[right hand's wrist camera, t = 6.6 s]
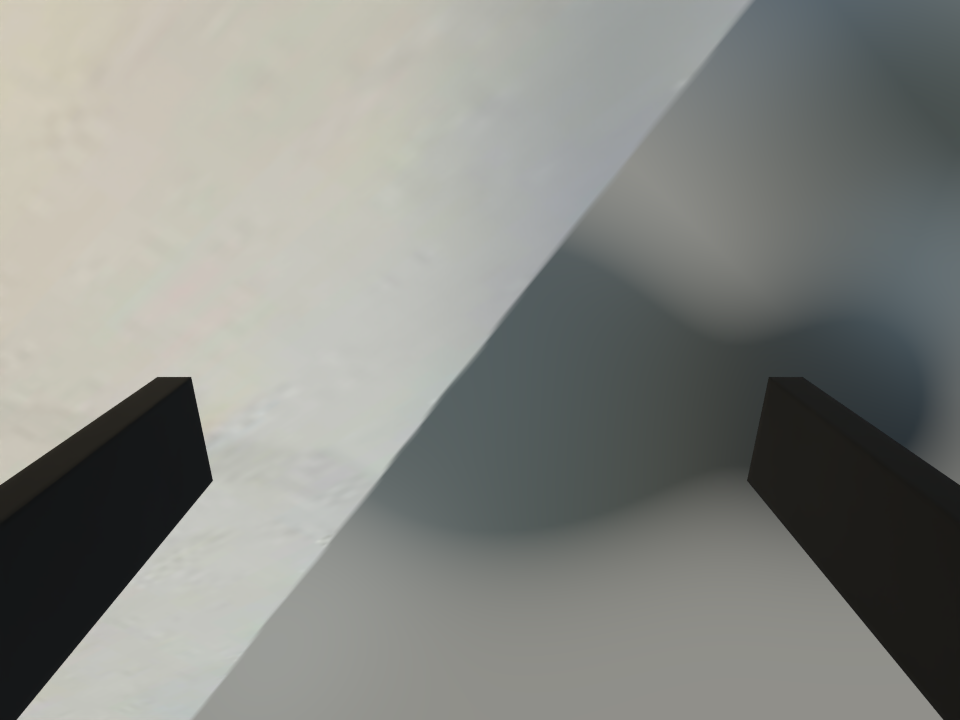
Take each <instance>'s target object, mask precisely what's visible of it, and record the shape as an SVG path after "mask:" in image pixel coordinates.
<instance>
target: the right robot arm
mask: <svg viewBox="0 0 960 720" xmlns="http://www.w3.org/2000/svg"><path fill="white" fill-rule="evenodd" d="M212 481H213V479H212V475H211V470H210V465H209V460H208V455H207V451H206V446H205V441H204V436H203V432H202V427H201V422H200V417H199V412H198V408H197V403H196V398H195V393H194V389H193V384H192V379H191V377H157V378H155V379H154V380H153V381H151V382H150V383H148V384H147V385H145V386H144V387H142V388H141V389H139V390H138V391H137V392H135V393H134V394H132V395H131V396H129V397H128V398H126V399H125V400H123V401H122V402H121V403H119V404H118V405H116V406H115V407H113V408H112V409H110V410H109V411H107V412H106V413H105V414H103V415H102V416H100V417H99V418H97V419H96V420H94V421H93V422H91V423H90V424H89V425H87V426H86V427H84V428H83V429H81V430H80V431H78V432H77V433H75V434H74V435H73V436H71V437H70V438H68V439H67V440H65V441H64V442H62V443H61V444H59V445H58V446H57V447H55V448H54V449H52V450H51V451H49V452H48V453H46V454H45V455H43V456H42V457H41V458H39V459H38V460H36V461H35V462H33V463H32V464H30V465H29V466H27V467H26V468H25V469H23V470H22V471H20V472H19V473H17V474H16V475H14V476H13V477H11V478H10V479H9V480H7V481H6V482H4V483H3V484H1V485H0V720H17V719H18V717H19V716H20V715H21V714H22V712H23V711H24V710H25V709H26V708H27V706H28V705H29V704H30V703H31V701H32V700H33V699H34V698H35V697H36V695H37V694H38V693H39V692H40V691H41V689H42V688H43V687H44V686H45V684H46V683H47V682H48V681H49V680H50V678H51V677H52V676H53V675H54V673H55V672H56V671H57V670H58V669H59V667H60V666H61V665H62V664H63V663H64V661H65V660H66V659H67V658H68V656H69V655H70V654H71V653H72V652H73V650H74V649H75V648H76V647H77V645H78V644H79V643H80V642H81V641H82V639H83V638H84V637H85V636H86V635H87V633H88V632H89V631H90V630H91V628H92V627H93V626H94V625H95V624H96V622H97V621H98V620H99V619H100V617H101V616H102V615H103V614H104V613H105V611H106V610H107V609H108V608H109V606H110V605H111V604H112V603H113V602H114V600H115V599H116V598H117V597H118V596H119V594H120V593H121V592H122V591H123V589H124V588H125V587H126V586H127V585H128V583H129V582H130V581H131V580H132V578H133V577H134V576H135V575H136V574H137V572H138V571H139V570H140V569H141V568H142V566H143V565H144V564H145V563H146V561H147V560H148V559H149V558H150V557H151V555H152V554H153V553H154V552H155V550H156V549H157V548H158V547H159V546H160V544H161V543H162V542H163V541H164V540H165V538H166V537H167V536H168V535H169V533H170V532H171V531H172V530H173V529H174V527H175V526H176V525H177V524H178V522H179V521H180V520H181V519H182V518H183V516H184V515H185V514H186V513H187V511H188V510H189V509H190V508H191V507H192V505H193V504H194V503H195V502H196V501H197V499H198V498H199V497H200V496H201V494H202V493H203V492H204V491H205V490H206V488H207V487H208V486H209V485H210V483H211V482H212ZM747 481H748V482H749V483H750V485H751V486H752V487H753V488H754V489H755V491H756V492H757V493H758V494H759V496H760V497H761V498H762V499H763V501H764V502H765V503H766V504H767V505H768V507H769V508H770V509H771V510H772V511H773V513H774V514H775V515H776V516H777V518H778V519H779V520H780V521H781V522H782V524H783V525H784V526H785V527H786V528H787V530H788V531H789V532H790V533H791V535H792V536H793V537H794V538H795V540H796V541H797V542H798V543H799V544H800V546H801V547H802V548H803V549H804V550H805V552H806V553H807V554H808V555H809V557H810V558H811V559H812V560H813V561H814V563H815V564H816V565H817V566H818V568H819V569H820V570H821V571H822V572H823V574H824V575H825V576H826V577H827V578H828V580H829V581H830V582H831V583H832V585H833V586H834V587H835V588H836V589H837V591H838V592H839V593H840V594H841V595H842V597H843V598H844V599H845V600H846V602H847V603H848V604H849V605H850V606H851V608H852V609H853V610H854V611H855V613H856V614H857V615H858V616H859V617H860V619H861V620H862V621H863V622H864V624H865V625H866V626H867V627H868V628H869V630H870V631H871V632H872V633H873V634H874V636H875V637H876V638H877V639H878V641H879V642H880V643H881V644H882V645H883V647H884V648H885V649H886V650H887V652H888V653H889V654H890V655H891V656H892V658H893V659H894V660H895V661H896V663H897V664H898V665H899V666H900V667H901V669H902V670H903V671H904V672H905V673H906V675H907V676H908V677H909V678H910V680H911V681H912V682H913V683H914V684H915V686H916V687H917V688H918V689H919V690H920V692H921V693H922V694H923V695H924V697H925V698H926V699H927V700H928V701H929V703H930V704H931V705H932V706H933V708H934V709H935V710H936V711H937V712H938V714H939V715H940V716H941V717H942V718H943V720H960V485H959V484H957V483H956V482H954V481H953V480H951V479H950V478H948V477H947V476H946V475H944V474H943V473H941V472H940V471H938V470H937V469H935V468H934V467H932V466H931V465H930V464H928V463H927V462H925V461H924V460H922V459H921V458H919V457H918V456H917V455H915V454H914V453H912V452H911V451H909V450H908V449H906V448H905V447H903V446H902V445H901V444H899V443H898V442H896V441H895V440H893V439H892V438H890V437H889V436H887V435H886V434H884V433H883V432H882V431H880V430H879V429H877V428H876V427H874V426H873V425H871V424H870V423H869V422H867V421H866V420H864V419H863V418H861V417H860V416H858V415H857V414H855V413H854V412H853V411H851V410H850V409H848V408H847V407H845V406H844V405H842V404H841V403H839V402H838V401H837V400H835V399H834V398H832V397H831V396H829V395H828V394H826V393H825V392H823V391H822V390H821V389H819V388H818V387H816V386H815V385H813V384H812V383H810V382H809V381H807V380H806V379H805V378H803V377H769V379H768V384H767V389H766V393H765V398H764V403H763V408H762V412H761V418H760V422H759V427H758V432H757V436H756V441H755V446H754V451H753V455H752V460H751V465H750V470H749V475H748V479H747Z"/></svg>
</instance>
